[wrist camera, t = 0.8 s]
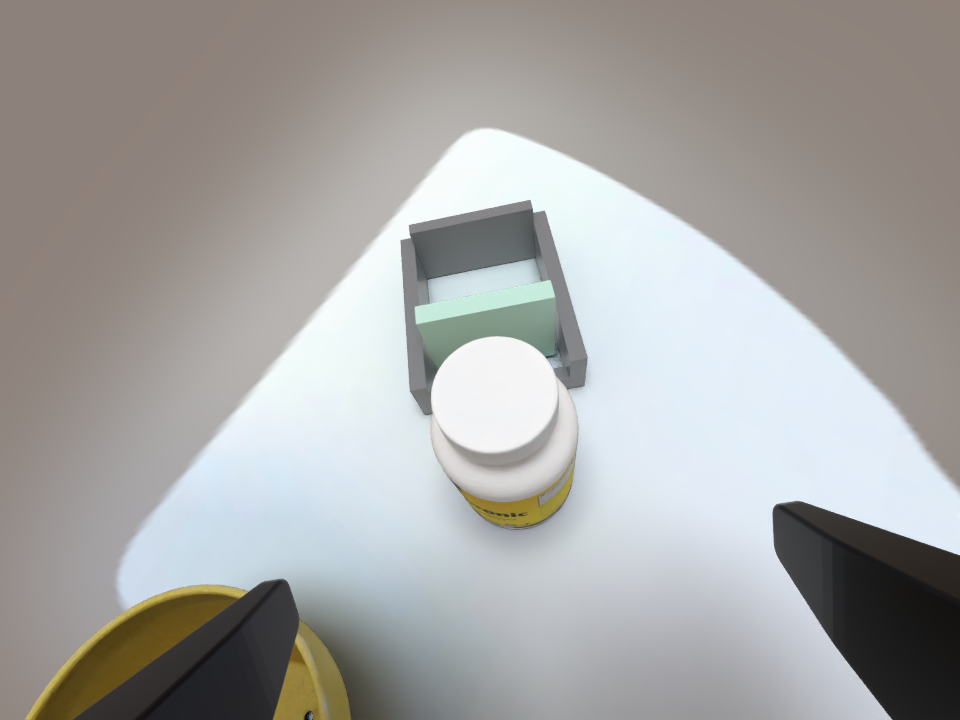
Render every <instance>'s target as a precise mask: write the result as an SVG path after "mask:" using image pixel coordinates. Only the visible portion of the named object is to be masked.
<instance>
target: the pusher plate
mask: <svg viewBox="0 0 960 720" xmlns="http://www.w3.org/2000/svg"><path fill="white" fill-rule="evenodd" d="M415 318H416V325H417V327H418V330H419V332H420V334H421V336H422V338H423V340H424V342H425V344H426V346H427V348H428V351H429V353H430V355H431V357H432V359H433V361H434V363H435V365H436V367H437V369H438V370H439V368H440V367H441V365H442V364H443V362H444V361H445V360H446V359H447V358H448V356H450V355H451V354H452V353H453V352H454V351H456V350H457V349H458V348H460V347H461V346H463V345H465V344H467V343H469V342H471V341H474V340H477V339H481V338H485V337H495V336H499V337H510V338H514V339H518V340H521V341H523V342H526V343H528V344H529V345H531V346H533V347H534V348H536V349H537V350H538V351H539V352H541V353H542V354H543V355H544V356H551V355H555V295H554V291H553V287H552V283H551V280H548V281H543V282H538V283H532V284H527V285H522V286H517V287H512V288H507V289H502V290H497V291H492V292H487V293H482V294H477V295H472V296H466V297H461V298H456V299H451V300H446V301H441V302H436V303H431V304H426V305H421V306H416V307H415Z"/></svg>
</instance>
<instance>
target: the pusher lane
mask: <svg viewBox="0 0 960 720" xmlns="http://www.w3.org/2000/svg"><path fill="white" fill-rule="evenodd" d="M409 231H410V236H411V238H410V239H405V240H401V256H402V272H403V288H404V304H405V320H406V336H407V352H408V368H409V384H410V392H411V393H412V395H413V397H414V398H415V400H416V401H417V403H418V404H419V406H420V408H421V409H422V411H423V412H424V414H425V415H427V414H432V413H433V412H432V406H431V390H432V386H433V382H434V379H435V376H436V368H435V363H434V361H433V359H432V357H431V355H430V353H429V351H428V348H427V346H426V344H425V342H424V340H423V338H422V336H421V334H420V332H419V330H418V327H417V325H416V318H415V307H416V306H421V305H426V304H429V296H428V285H427V279H430V278H435V277H440V276H445V275H450V274H455V273H460V272H465V271H470V270H475V269H480V268H485V267H490V266H495V265H500V264H505V263H510V262H515V261H520V260H525V259H530V258H536V261H537V265H538V269H539V273H540V277H541V281H542V282H543V281H548V280H551V283H552V287H553V291H554V295H555V335H556V339H557V343H558V347H559V351H560V355H561V359H562V363H563V367H560V368H555V369H553V370H554V372H555V375H556V377H557V378H558V379H559V380H560V381H561V382H562V383H563V385H564V386H565V387H566V389H569V388H575V387H580V386H584V383H585V375H586V367H587V354H586V351H585V348H584V344H583V341H582V337H581V334H580V330H579V327H578V323H577V320H576V317H575V313H574V310H573V306H572V303H571V299H570V296H569V292H568V289H567V286H566V282H565V279H564V275H563V272H562V268H561V265H560V261H559V258H558V255H557V251H556V248H555V244H554V241H553V237H552V234H551V230H550V227H549V224H548V220H547V217H546V213H545V211H541V212H536V213H533V208H532V205H531V201H530V200H528V201H523V202H518V203H513V204H508V205H504V206H499V207H494V208H489V209H484V210H480V211H475V212H470V213H465V214H460V215H456V216H451V217H446V218H441V219H436V220H431V221H427V222H422V223H417V224H412V225H409Z"/></svg>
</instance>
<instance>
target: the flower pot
mask: <svg viewBox="0 0 960 720" xmlns="http://www.w3.org/2000/svg"><path fill="white" fill-rule="evenodd" d="M246 593H248V591H245V590H242V589H238V588H234V587H230V586H224V585H195V586H187V587H182V588H177V589H174V590H170V591H167V592H164V593H162V594H159V595H156V596H154V597H151V598H148V599H147V600H145V601H143V602H141V603H139V604H137V605H135V606H133V607H131V608H130V609H128V610H126V611H125V612H123V613H122V614H120V615H119V616H117V617H116V618H114V619H113V620H112V621H110V622H109V623H108V624H106V625H105V626H104V627H102V628H101V630H99V631H98V632H96V633H95V634H94V635H93V636H92V637H91V638H90V639H89V640H88V641H86V642H85V643H84V644H83V645H82V646H81V647H80V648H79V649H78V650H77V651H76V652H75V653H74V654H73V655H72V656H71V658H70V659H69V660H68V661H67V662H66V663H65V665H64V666H63V667H61V668H60V670H59V671H58V672H57V674H56V675H55V676H54V678H53V679H52V680H51V682H50V683H49V684H48V685H47V687H46V688H45V689H44V691H43V692H42V694H41V696H40V697H39V698H38V700H37V701H36V702H35V704H34V706H33V708H32V709H31V711H30V712H29V714H28V715H27V717H26V719H25V720H72V719H74V718H75V717H76V716H78V715H79V714H80V713H82V712H83V711H85V710H86V709H87V708H89V707H90V706H92V705H93V704H94V703H96V702H97V701H98V700H100V699H101V698H103V697H104V696H105V695H107V694H108V693H110V692H111V691H112V690H114V689H115V688H116V687H118V686H119V685H121V684H122V683H123V682H125V681H126V680H127V679H129V678H130V677H132V676H133V675H134V674H136V673H137V672H139V671H140V670H141V669H143V668H144V667H145V666H147V665H148V664H150V663H151V662H152V661H154V660H155V659H157V658H158V657H159V656H161V655H162V654H163V653H165V652H166V651H168V650H169V649H170V648H172V647H173V646H174V645H176V644H177V643H179V642H180V641H181V640H183V639H184V638H186V637H187V636H188V635H190V634H191V633H192V632H194V631H195V630H197V629H198V628H199V627H201V626H202V625H204V624H205V623H206V622H208V621H209V620H210V619H212V618H213V617H215V616H216V615H217V614H219V613H220V612H221V611H223V610H224V609H226V608H227V607H228V606H230V605H231V604H233V603H234V602H235V601H237V600H238V599H239V598H241V597H242V596H244V595H245V594H246ZM309 711H312V712H313V719H312V720H351V715H350V707H349V701H348V696H347V691H346V688H345V685H344V682H343V679H342V676H341V674H340V671H339V669H338V667H337V665H336V663H335V661H334V659H333V657H332V656H331V654H330V652H329V651H328V649H327V648H326V646H325V645H324V644H323V642H322V641H321V640H320V639H319V638H318V636H317V635H316V634H315V633H314V632H313V631H312V630H311V629H310V628H309V627H308V626H307V625H306V624H305V623H303V622H302V621H301V620H300V619H299V628H298V633H297V636H296V640H295V643H294V647H293V651H292V654H291V658H290V662H289V665H288V669H287V673H286V676H285V680H284V683H283V687H282V691H281V694H280V698H279V702H278V705H277V708H276V711H275V715H274V718H273V720H305V715H306V713H307V712H309Z"/></svg>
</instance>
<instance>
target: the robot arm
mask: <svg viewBox="0 0 960 720" xmlns="http://www.w3.org/2000/svg"><path fill="white" fill-rule="evenodd" d="M773 535H774V547H775V551H776V554H777V556H778V558H779V560H780V562H781V563H782V565H783V566H784V568H785V570H786V571H787V573H788V574H789V576H790V577H791V579H792V580H793V582H794V584H795V585H796V587H797V588H798V590H799V591H800V593H801V595H802V596H803V598H804V599H805V601H806V602H807V604H808V605H809V607H810V609H811V610H812V612H813V613H814V615H815V616H816V618H817V619H818V621H819V623H820V624H821V626H822V627H823V629H824V630H825V632H826V633H827V635H828V636H829V638H830V639H831V641H832V642H833V644H834V645H835V646H836V648H837V649H838V650H839V652H840V653H841V654H842V656H843V657H844V658H845V660H846V661H847V662H848V663H849V665H850V666H851V667H852V669H853V670H854V671H855V672H856V674H857V675H858V676H859V678H860V679H861V680H862V681H863V683H864V684H865V685H866V687H867V688H868V689H869V690H870V692H871V693H872V694H873V696H874V697H875V698H876V699H877V701H878V702H879V703H880V705H881V706H882V707H883V708H884V710H885V711H886V712H887V714H888V715H889V716H890V717H891V719H892V720H960V555H957V554H954V553H951V552H948V551H945V550H942V549H939V548H936V547H933V546H930V545H928V544H925V543H922V542H919V541H916V540H913V539H910V538H907V537H904V536H901V535H898V534H895V533H892V532H889V531H886V530H884V529H881V528H878V527H875V526H872V525H869V524H866V523H863V522H860V521H857V520H854V519H851V518H848V517H845V516H842V515H839V514H837V513H834V512H831V511H828V510H825V509H822V508H819V507H816V506H813V505H810V504H807V503H804V502H801V501H793V502H787V503H780V504H776V505H775V506H774V508H773ZM298 628H299V614H298V610H297V607H296V604H295V601H294V598H293V595H292V592H291V589H290V586H289V584H288V582H287V581H286V580H284V579H277V580H270V581H264V582H262V583H260V584H259V585H257V586H256V587H255V588H253V589H252V590H251V591H249V592H248V593H246V594H245V595H244V596H242V597H241V598H239V599H238V600H237V601H235V602H234V603H233V604H231V605H230V606H228V607H227V608H226V609H224V610H223V611H221V612H220V613H219V614H217V615H216V616H215V617H213V618H212V619H210V620H209V621H208V622H206V623H205V624H204V625H202V626H201V627H199V628H198V629H197V630H195V631H194V632H192V633H191V634H190V635H188V636H187V637H186V638H184V639H183V640H181V641H180V642H179V643H177V644H176V645H174V646H173V647H172V648H170V649H169V650H168V651H166V652H165V653H163V654H162V655H161V656H159V657H158V658H157V659H155V660H154V661H152V662H151V663H150V664H148V665H147V666H145V667H144V668H143V669H141V670H140V671H139V672H137V673H136V674H134V675H133V676H132V677H130V678H129V679H127V680H126V681H125V682H123V683H122V684H121V685H119V686H118V687H116V688H115V689H114V690H112V691H111V692H110V693H108V694H107V695H105V696H104V697H103V698H101V699H100V700H98V701H97V702H96V703H94V704H93V705H92V706H90V707H89V708H87V709H86V710H85V711H83V712H82V713H80V714H79V715H78V716H76V717H75V718H74V719H72V720H273V718H274V715H275V711H276V708H277V705H278V702H279V698H280V694H281V691H282V687H283V683H284V680H285V676H286V673H287V669H288V665H289V662H290V658H291V654H292V651H293V647H294V643H295V640H296V636H297V633H298Z"/></svg>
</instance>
